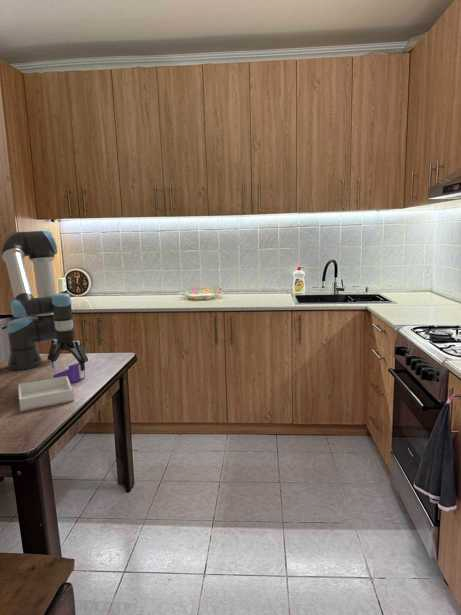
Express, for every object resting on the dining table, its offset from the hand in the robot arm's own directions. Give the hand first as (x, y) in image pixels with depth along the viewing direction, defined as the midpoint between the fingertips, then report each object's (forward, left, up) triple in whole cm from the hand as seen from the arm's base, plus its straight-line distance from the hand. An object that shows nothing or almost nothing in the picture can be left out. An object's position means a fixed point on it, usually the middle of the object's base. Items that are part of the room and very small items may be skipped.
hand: (69, 376), depth 196 cm
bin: (+19, -11, -1) cm, 22 cm away
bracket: (0, 0, -1) cm, 1 cm away
